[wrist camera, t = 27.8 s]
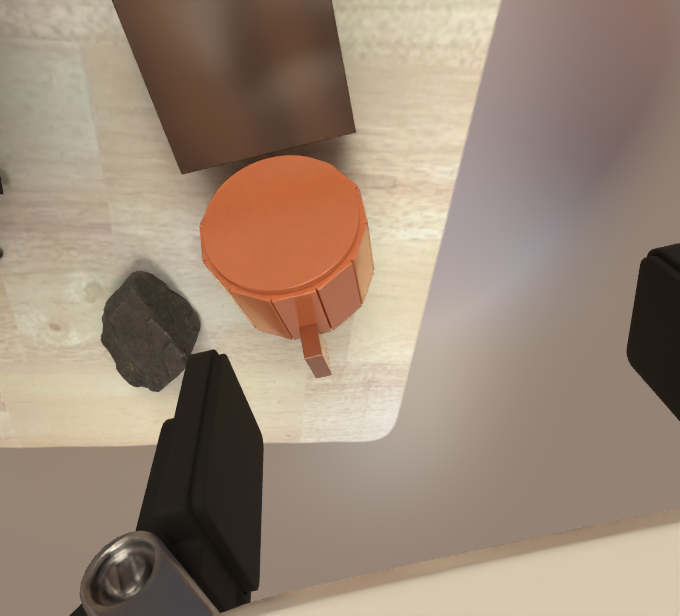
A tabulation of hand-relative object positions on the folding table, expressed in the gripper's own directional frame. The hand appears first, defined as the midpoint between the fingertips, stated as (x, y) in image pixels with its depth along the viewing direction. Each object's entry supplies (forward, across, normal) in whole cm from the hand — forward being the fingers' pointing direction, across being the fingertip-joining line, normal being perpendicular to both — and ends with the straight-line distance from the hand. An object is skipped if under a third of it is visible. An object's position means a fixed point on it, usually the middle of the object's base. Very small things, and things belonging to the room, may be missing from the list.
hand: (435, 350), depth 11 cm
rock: (+31, +20, +16) cm, 40 cm away
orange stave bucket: (+20, +5, +6) cm, 21 cm away
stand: (+30, +5, -3) cm, 31 cm away
